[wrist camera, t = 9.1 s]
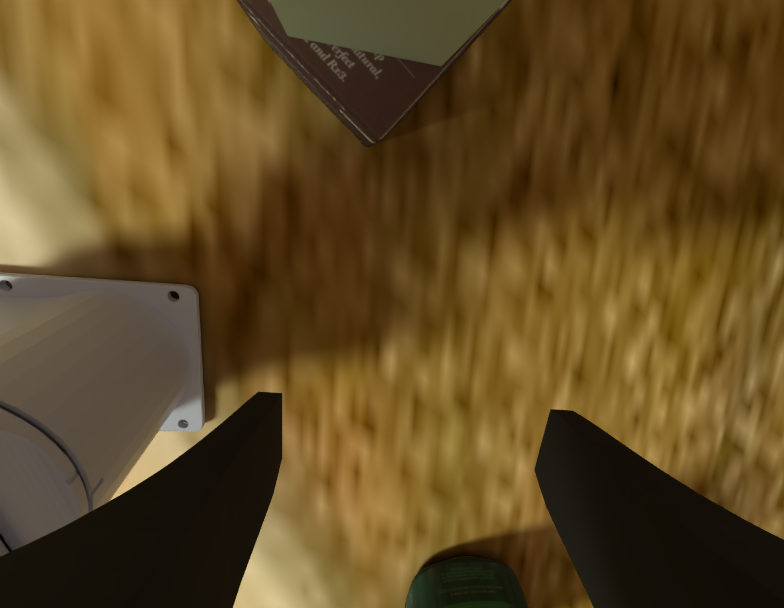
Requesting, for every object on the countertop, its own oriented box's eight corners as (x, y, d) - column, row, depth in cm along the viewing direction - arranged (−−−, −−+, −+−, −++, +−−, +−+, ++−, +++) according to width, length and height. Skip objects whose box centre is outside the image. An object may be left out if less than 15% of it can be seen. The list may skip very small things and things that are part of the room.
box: (259, 36, 16) (193, -52, 10) (362, -92, 15) (372, -296, 8) (368, 150, 18) (379, 147, 11) (467, 43, 17) (545, -34, 10)
